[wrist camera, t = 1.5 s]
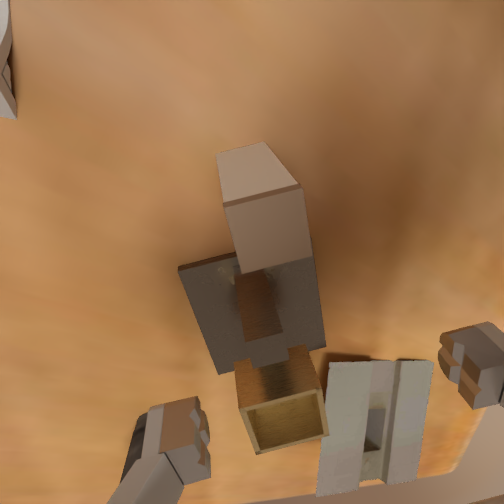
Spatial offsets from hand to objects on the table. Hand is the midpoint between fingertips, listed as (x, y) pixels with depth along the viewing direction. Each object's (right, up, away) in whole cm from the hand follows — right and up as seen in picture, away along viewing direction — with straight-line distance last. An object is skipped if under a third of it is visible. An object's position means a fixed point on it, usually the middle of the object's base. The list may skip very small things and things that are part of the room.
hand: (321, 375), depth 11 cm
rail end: (-3, +11, +20) cm, 24 cm away
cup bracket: (-1, -2, +28) cm, 28 cm away
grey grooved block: (+14, -16, +39) cm, 44 cm away
